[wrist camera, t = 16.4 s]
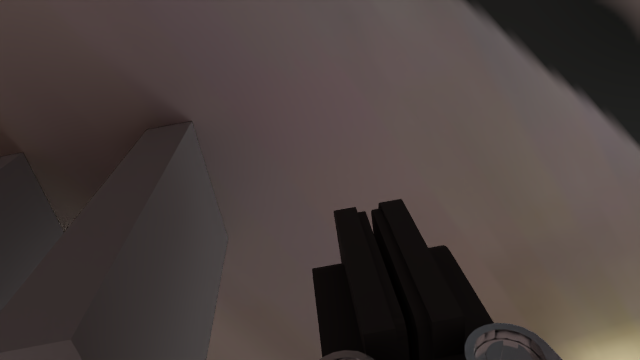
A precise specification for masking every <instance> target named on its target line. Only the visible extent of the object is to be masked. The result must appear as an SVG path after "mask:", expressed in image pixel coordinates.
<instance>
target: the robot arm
mask: <svg viewBox="0 0 640 360" xmlns="http://www.w3.org/2000/svg"><path fill="white" fill-rule="evenodd" d="M371 214H372V224H373V231H372V228H371V226H370V223H369V220H368V217H367V215H366V212H365V211H364V212H358V213H357V210H356V207H353V208H347V209H341V210H336V211H334V217H335V224H336V230H337V236H338V243H339V249H340V256H341V262H342V263H341V264H336V265H330V266H325V267H319V268H313V269H312V272H313V281H314V290H315V298H316V306H317V315H318V323H319V332H320V340H321V349H322V358H321V359H320V360H562V359H561V358H560V357H559V355H558V354H557V353H556V352H555V351H554V350H553V349H552V348H551V347H550V346H549V345H548V344H547V343H546V342H545V341H544V340H543V339H542V338H540V337H539V336H538V335H537V334H535V333H533V332H531V331H529V330H528V329H526V328H524V327H520V326H517V325H513V324H507V323H494V322H493V321H492V319H491V318H490V316H489V314H488V313H487V311H486V309H485V308H484V306H483V304H482V303H481V301H480V299H479V298H478V296H477V295H476V293H475V291H474V290H473V288H472V286H471V285H470V283H469V281H468V280H467V278H466V277H465V275H464V273H463V272H462V270H461V268H460V267H459V265H458V263H457V262H456V260H455V259H454V257H453V255H452V254H451V252H450V250H449V249H448V248H447V247H446V246H444V245H443V246H437V247H431V248H428V247H427V245H426V243H425V241H424V240H423V238H422V236H421V234H420V232H419V230H418V228H417V227H416V225H415V223H414V221H413V219H412V217H411V215H410V214H409V212H408V210H407V208H406V206H405V204H404V202H403V201H402V199H398V200H393V201H387V202H381V203H379V209H375V210H372V211H371ZM373 233H374V234H373Z"/></svg>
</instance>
